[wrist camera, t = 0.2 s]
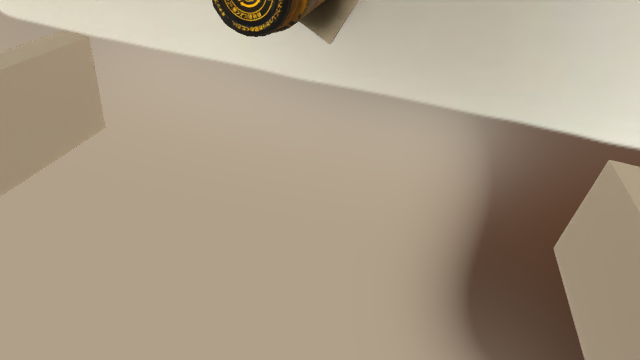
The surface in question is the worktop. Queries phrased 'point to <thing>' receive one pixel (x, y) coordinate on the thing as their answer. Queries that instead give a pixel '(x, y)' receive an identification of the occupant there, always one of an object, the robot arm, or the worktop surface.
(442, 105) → the worktop surface
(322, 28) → the condiment
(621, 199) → the robot arm
